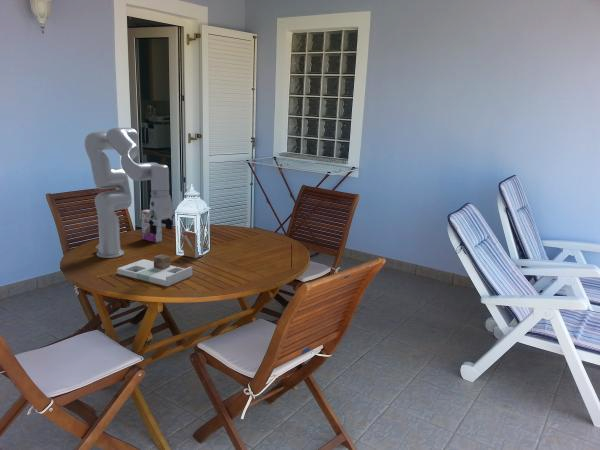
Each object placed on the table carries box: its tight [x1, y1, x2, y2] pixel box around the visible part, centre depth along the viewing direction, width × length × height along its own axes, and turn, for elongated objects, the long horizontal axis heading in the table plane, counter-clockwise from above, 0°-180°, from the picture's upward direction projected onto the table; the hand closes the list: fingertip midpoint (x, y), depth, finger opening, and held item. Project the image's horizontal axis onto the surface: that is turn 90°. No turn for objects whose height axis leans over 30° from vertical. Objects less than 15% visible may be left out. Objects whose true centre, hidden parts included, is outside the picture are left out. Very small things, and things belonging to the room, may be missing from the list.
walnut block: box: [152, 253, 171, 270], centre depth 219 cm, size 5×5×5 cm
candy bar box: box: [140, 209, 163, 243], centre depth 268 cm, size 11×5×16 cm, turn 58°
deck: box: [116, 258, 193, 287], centre depth 216 cm, size 29×16×4 cm, turn 63°
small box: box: [182, 230, 204, 259], centre depth 245 cm, size 8×6×13 cm
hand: (161, 231), depth 216 cm, fingers open, 9 cm apart
